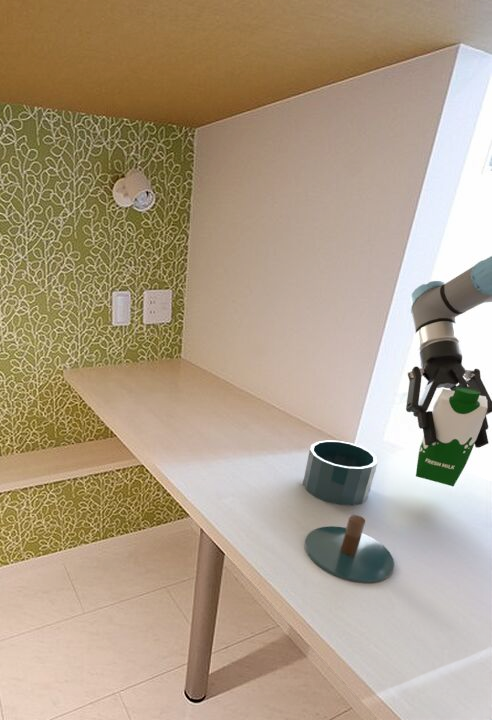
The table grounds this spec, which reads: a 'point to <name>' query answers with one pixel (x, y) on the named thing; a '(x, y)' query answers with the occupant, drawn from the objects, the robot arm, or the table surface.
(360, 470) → the jar
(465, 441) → the milk carton
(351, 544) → the jar lid
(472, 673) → the table surface
